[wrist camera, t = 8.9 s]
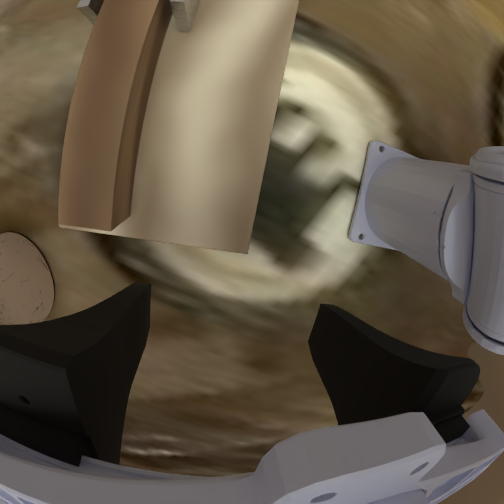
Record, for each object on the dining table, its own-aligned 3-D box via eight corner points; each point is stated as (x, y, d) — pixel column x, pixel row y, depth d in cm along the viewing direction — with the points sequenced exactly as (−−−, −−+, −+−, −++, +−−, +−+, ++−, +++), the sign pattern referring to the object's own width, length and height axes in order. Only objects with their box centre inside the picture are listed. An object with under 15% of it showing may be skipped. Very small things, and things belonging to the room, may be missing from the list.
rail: (181, -11, 13) (177, -41, 9) (130, 216, 18) (110, 231, 14) (136, -11, 12) (123, -38, 8) (85, 210, 17) (58, 224, 13)
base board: (303, -30, 13) (306, -36, 13) (245, 249, 21) (247, 254, 20) (136, -47, 11) (134, -53, 10) (65, 223, 18) (59, 227, 17)
